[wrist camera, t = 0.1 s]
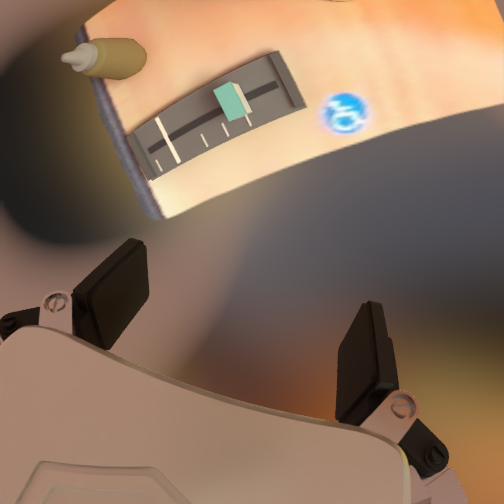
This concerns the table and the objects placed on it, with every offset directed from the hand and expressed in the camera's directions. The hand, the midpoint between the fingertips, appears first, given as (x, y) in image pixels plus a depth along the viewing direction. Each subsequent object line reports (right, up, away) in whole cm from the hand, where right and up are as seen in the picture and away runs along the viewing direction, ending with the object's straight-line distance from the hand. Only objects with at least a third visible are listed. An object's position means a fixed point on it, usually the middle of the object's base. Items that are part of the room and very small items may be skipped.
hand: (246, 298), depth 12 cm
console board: (-7, +24, +32) cm, 40 cm away
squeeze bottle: (-21, +37, +28) cm, 51 cm away
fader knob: (-2, +25, +27) cm, 37 cm away
